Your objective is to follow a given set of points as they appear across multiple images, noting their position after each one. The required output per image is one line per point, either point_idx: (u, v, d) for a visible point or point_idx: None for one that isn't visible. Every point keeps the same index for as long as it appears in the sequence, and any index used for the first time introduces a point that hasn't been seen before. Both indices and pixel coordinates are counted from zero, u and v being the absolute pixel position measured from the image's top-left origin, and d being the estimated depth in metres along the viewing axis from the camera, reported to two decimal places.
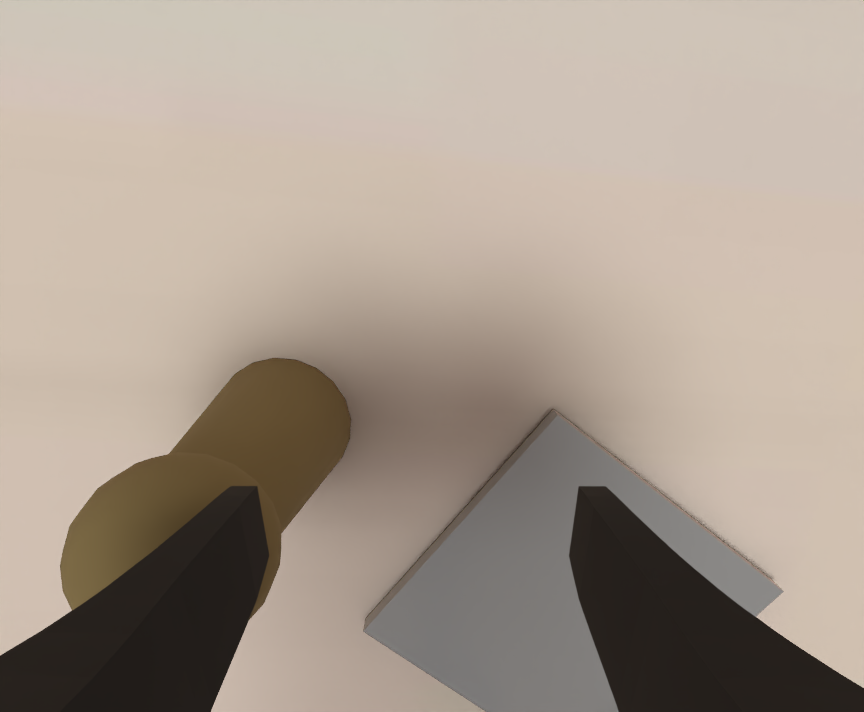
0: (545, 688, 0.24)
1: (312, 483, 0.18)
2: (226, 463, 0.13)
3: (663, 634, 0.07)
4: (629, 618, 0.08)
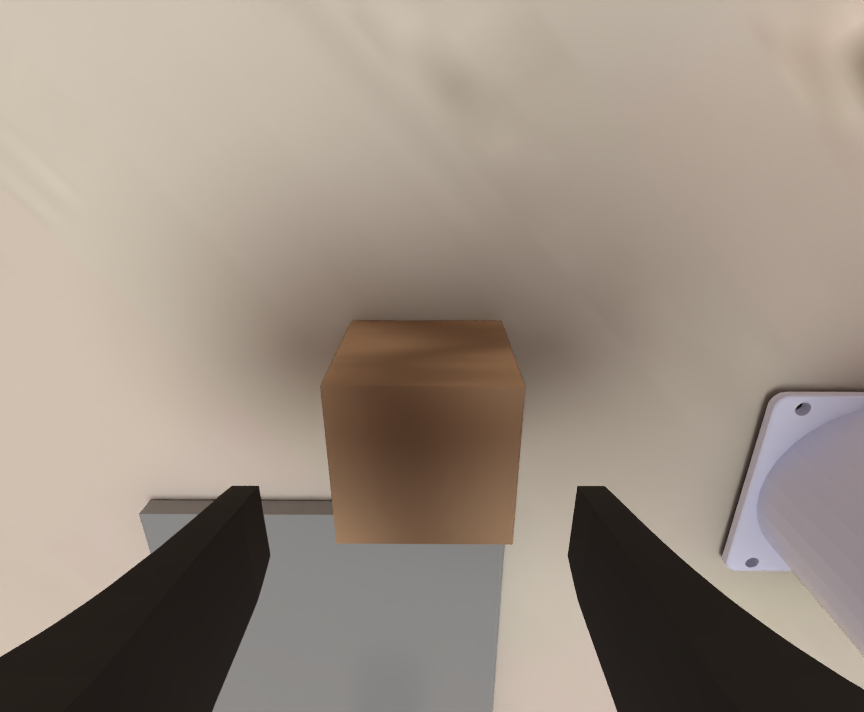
0: (429, 609, 0.21)
1: None
2: None
3: (661, 634, 0.07)
4: (627, 618, 0.08)
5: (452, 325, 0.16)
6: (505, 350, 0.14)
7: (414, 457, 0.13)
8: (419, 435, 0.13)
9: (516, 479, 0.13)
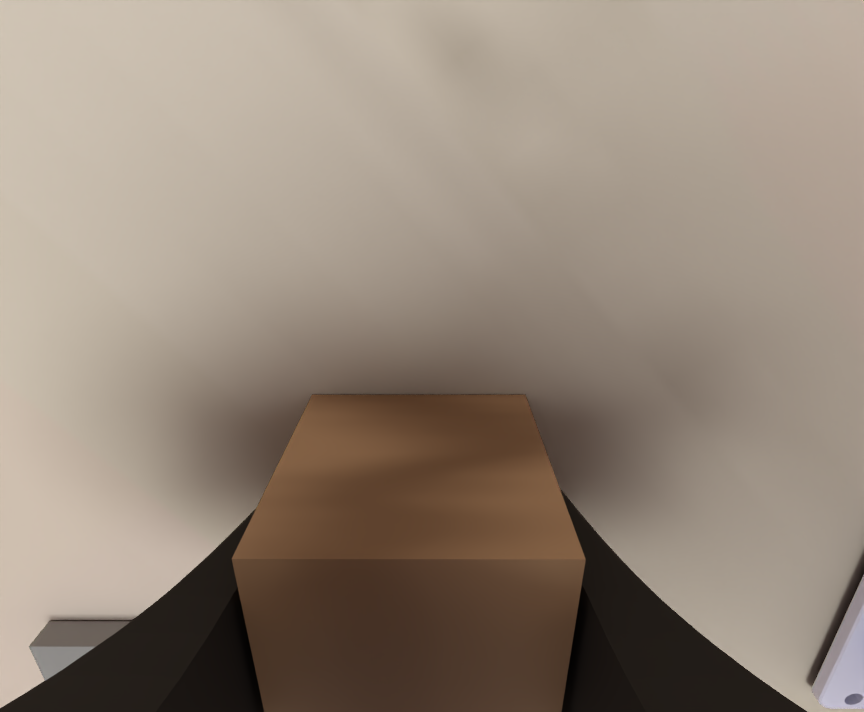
0: None
1: None
2: None
3: (591, 634, 0.07)
4: None
5: (456, 407, 0.11)
6: (540, 463, 0.09)
7: (397, 658, 0.08)
8: (404, 628, 0.07)
9: (563, 686, 0.08)
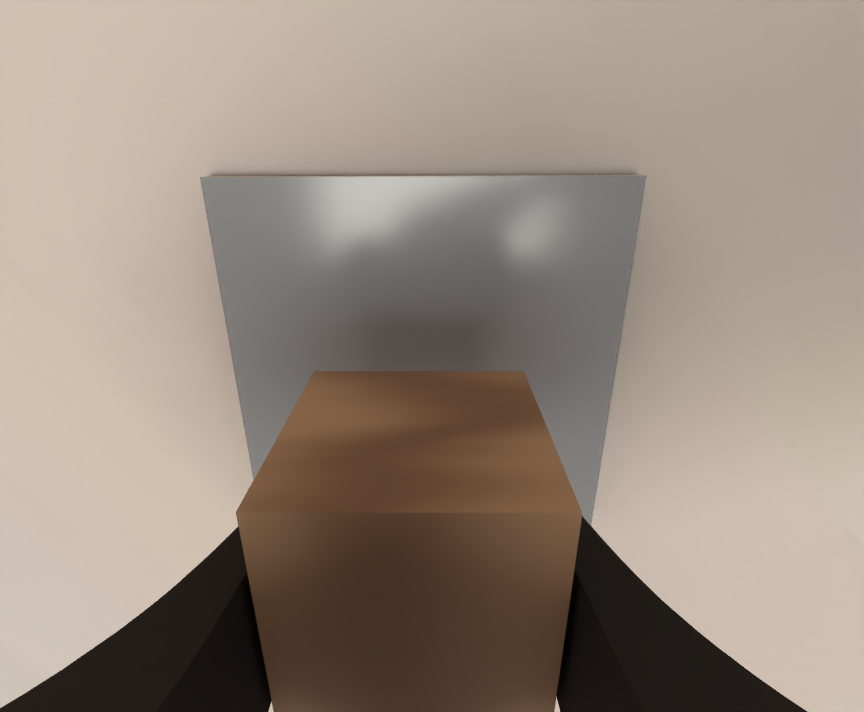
0: (539, 326, 0.17)
1: None
2: None
3: (591, 634, 0.07)
4: (567, 618, 0.08)
5: (456, 382, 0.11)
6: (538, 430, 0.09)
7: (397, 616, 0.08)
8: (404, 584, 0.08)
9: (561, 646, 0.08)
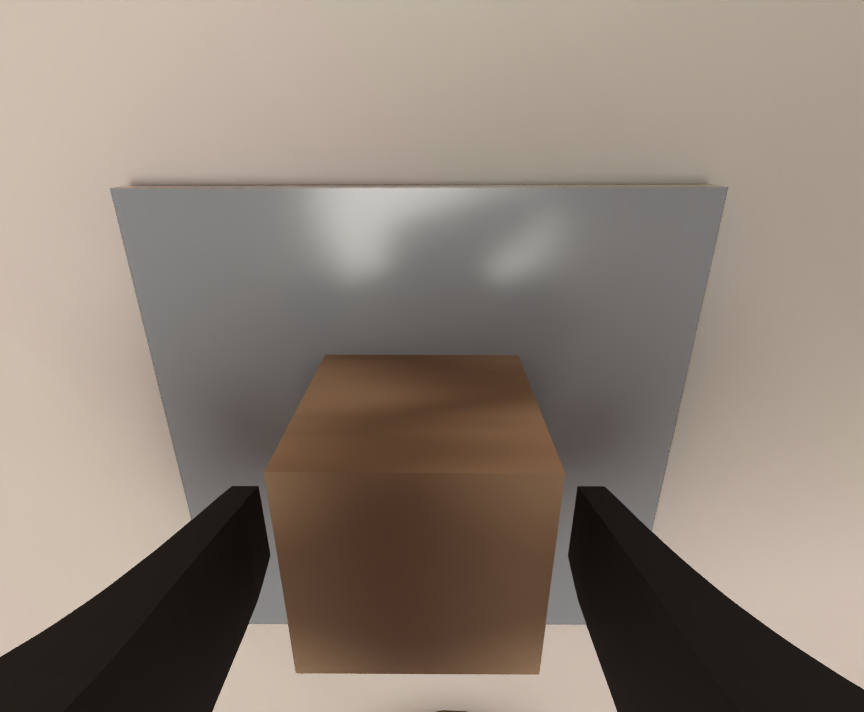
0: (574, 385, 0.13)
1: None
2: None
3: (661, 634, 0.07)
4: (627, 618, 0.08)
5: (455, 364, 0.12)
6: (529, 406, 0.10)
7: (402, 567, 0.09)
8: (409, 537, 0.09)
9: (547, 594, 0.09)
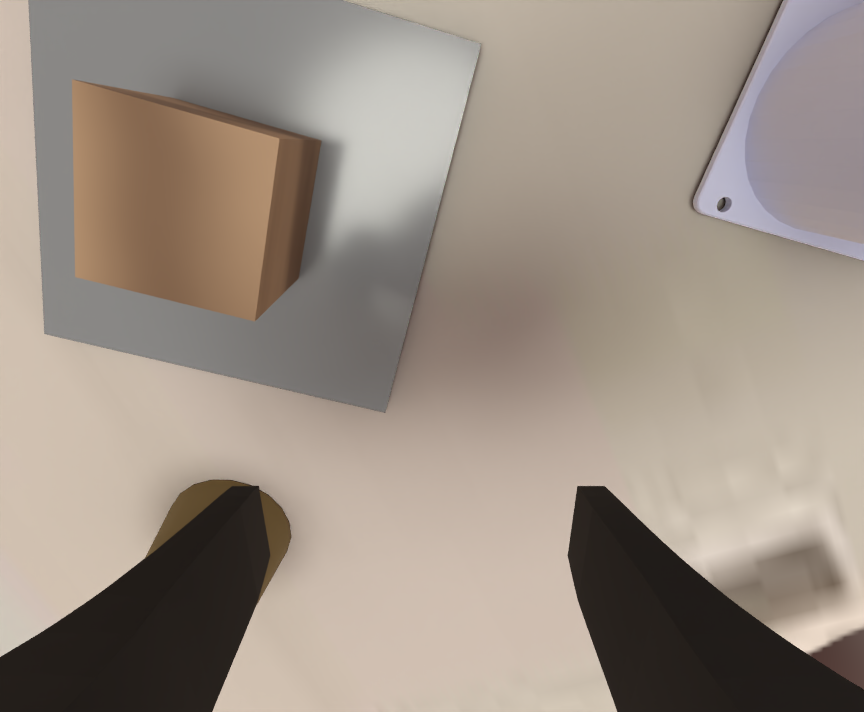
0: (360, 178, 0.17)
1: None
2: None
3: (661, 634, 0.07)
4: (627, 617, 0.08)
5: (268, 126, 0.16)
6: (295, 137, 0.14)
7: (163, 192, 0.13)
8: (170, 166, 0.13)
9: (264, 246, 0.13)
